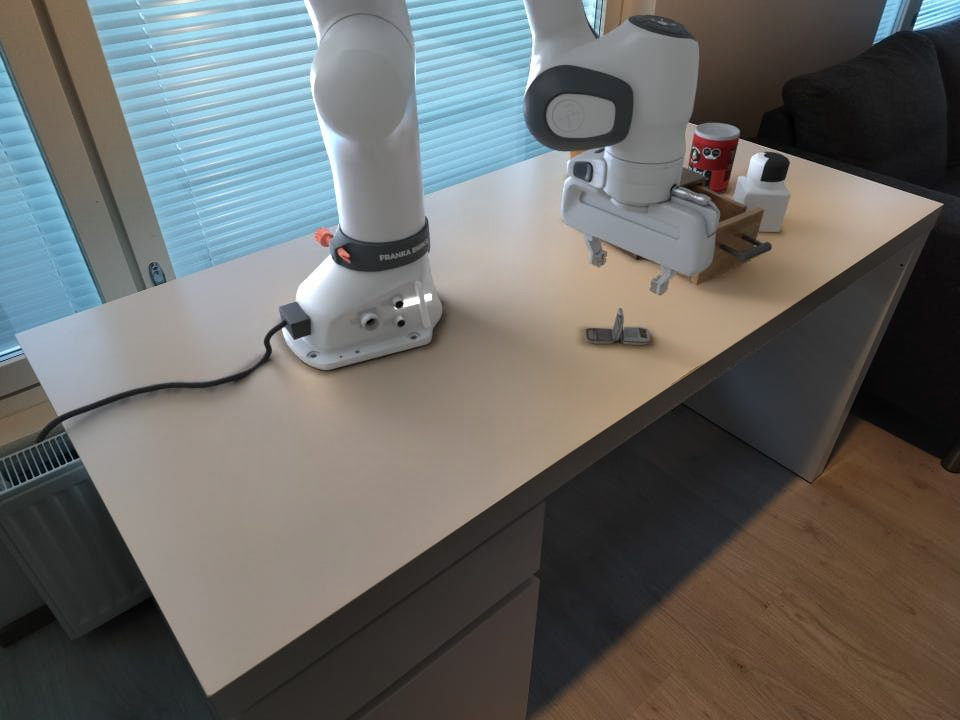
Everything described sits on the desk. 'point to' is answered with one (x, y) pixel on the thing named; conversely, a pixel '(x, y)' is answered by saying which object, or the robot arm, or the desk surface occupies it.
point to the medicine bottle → (765, 189)
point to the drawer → (732, 235)
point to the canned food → (714, 153)
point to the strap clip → (619, 333)
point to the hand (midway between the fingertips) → (626, 277)
